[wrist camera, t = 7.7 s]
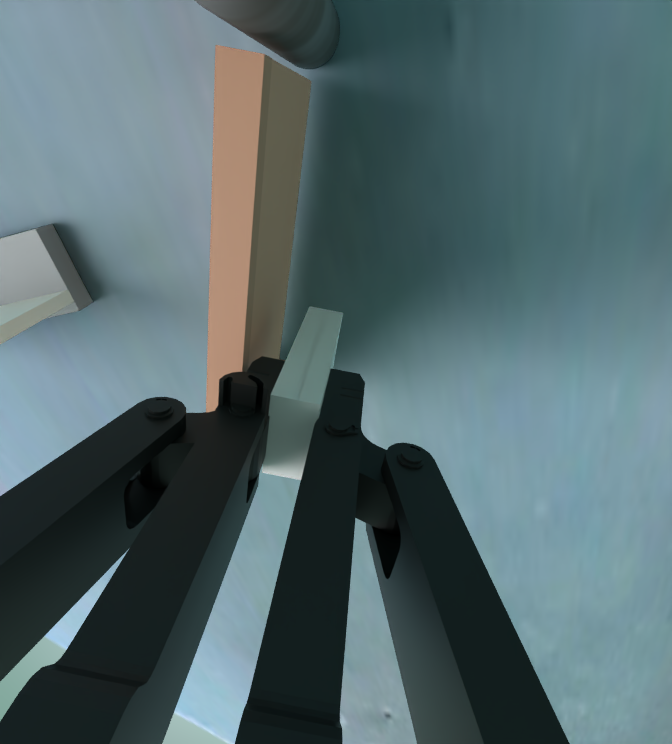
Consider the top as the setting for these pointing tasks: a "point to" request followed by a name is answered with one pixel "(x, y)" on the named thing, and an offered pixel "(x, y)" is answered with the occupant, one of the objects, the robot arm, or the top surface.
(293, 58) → the frame
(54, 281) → the card
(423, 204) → the top surface
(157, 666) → the robot arm
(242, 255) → the panel
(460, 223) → the top surface
